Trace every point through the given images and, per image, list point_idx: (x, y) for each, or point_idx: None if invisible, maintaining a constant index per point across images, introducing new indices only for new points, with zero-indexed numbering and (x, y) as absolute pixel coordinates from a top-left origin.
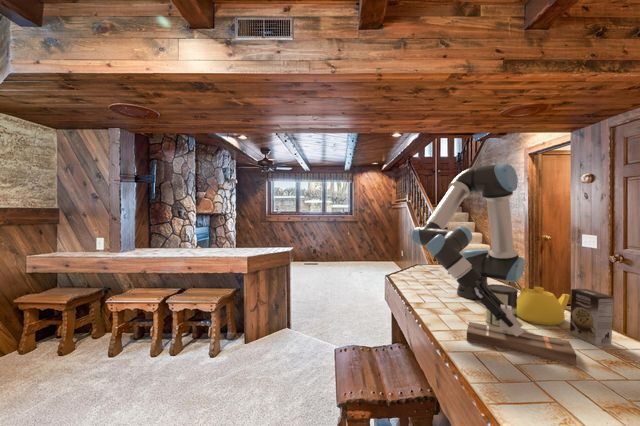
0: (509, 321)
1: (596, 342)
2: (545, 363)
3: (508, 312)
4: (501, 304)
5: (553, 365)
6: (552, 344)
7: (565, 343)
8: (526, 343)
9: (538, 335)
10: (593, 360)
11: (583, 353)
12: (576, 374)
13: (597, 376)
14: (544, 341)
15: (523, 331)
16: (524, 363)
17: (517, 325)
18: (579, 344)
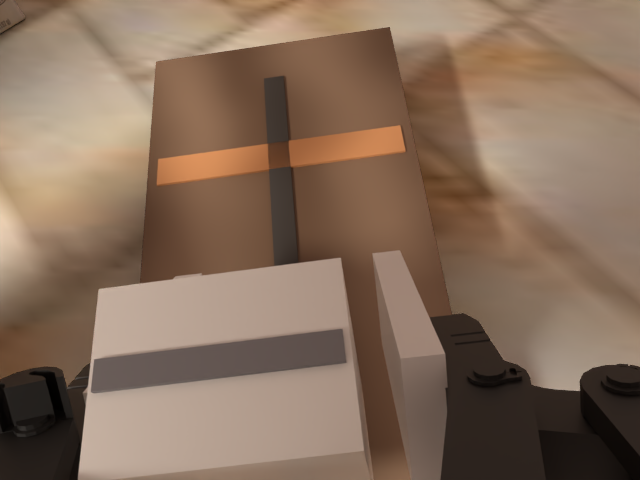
0: (488, 344)
1: (14, 1)
2: (506, 202)
3: (351, 334)
4: (55, 469)
5: (498, 165)
6: (300, 129)
7: (223, 73)
8: (421, 276)
9: (158, 211)
10: (257, 26)
11: (182, 57)
12: (526, 77)
13: (465, 15)
14: (279, 169)
15: (396, 252)
16: (635, 312)
17: (411, 279)
18: (46, 71)
